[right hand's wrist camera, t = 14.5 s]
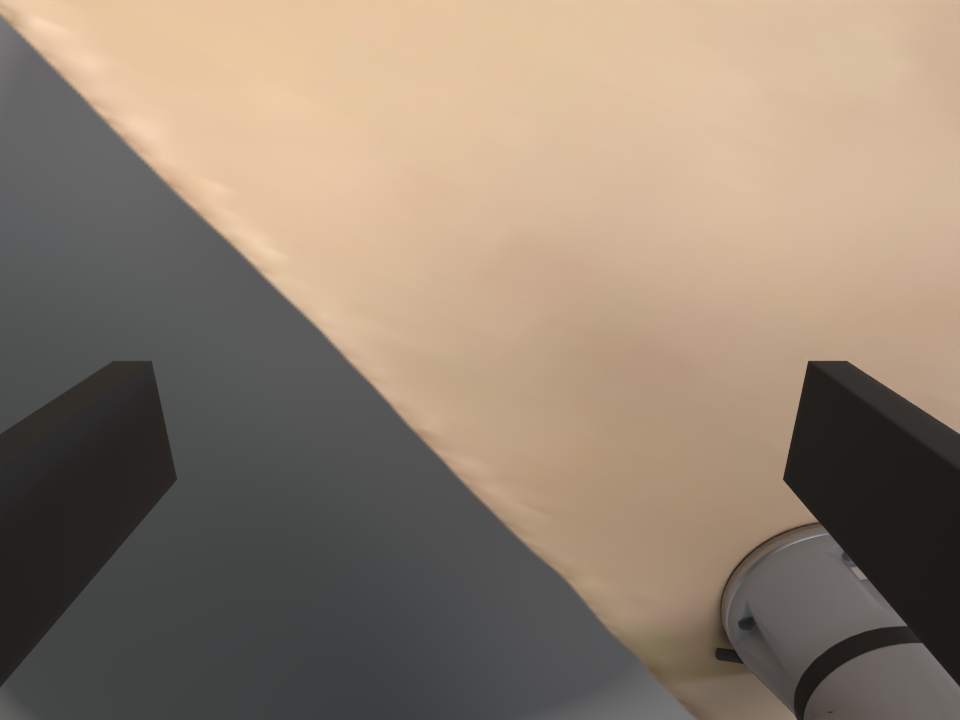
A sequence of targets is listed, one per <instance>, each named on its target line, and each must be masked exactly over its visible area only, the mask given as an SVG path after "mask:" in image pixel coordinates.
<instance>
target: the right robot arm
mask: <svg viewBox="0 0 960 720" xmlns="http://www.w3.org/2000/svg"><path fill="white" fill-rule="evenodd" d="M176 480H177V477H176V473H175V468H174V463H173V459H172V454H171V449H170V445H169V440H168V435H167V431H166V426H165V421H164V417H163V412H162V407H161V403H160V398H159V393H158V388H157V384H156V379H155V375H154V370H153V365H152V361H113V362H111V363H110V364H108V365H106V366H105V367H103V368H102V369H100V370H99V371H97V372H96V373H94V374H93V375H91V376H89V377H88V378H86V379H85V380H83V381H82V382H80V383H79V384H77V385H76V386H74V387H72V388H71V389H69V390H68V391H66V392H65V393H63V394H62V395H60V396H59V397H57V398H56V399H54V400H52V401H51V402H49V403H48V404H46V405H45V406H43V407H42V408H40V409H38V410H37V411H35V412H34V413H32V414H31V415H29V416H28V417H26V418H25V419H23V420H22V421H20V422H18V423H17V424H15V425H14V426H12V427H11V428H9V429H8V430H6V431H5V432H3V433H1V434H0V687H1V686H2V684H3V683H4V682H5V681H6V680H7V678H8V677H9V676H10V675H11V674H12V673H13V672H14V670H15V669H16V668H17V667H18V666H19V664H20V663H21V662H22V661H23V660H24V659H25V657H26V656H27V655H28V654H29V653H30V651H31V650H32V649H33V648H34V647H35V646H36V644H37V643H38V642H39V641H40V640H41V639H42V637H43V636H44V635H45V634H46V633H47V632H48V630H49V629H50V628H51V627H52V626H53V624H54V623H55V622H56V621H57V620H58V619H59V617H60V616H61V615H62V614H63V613H64V612H65V610H66V609H67V608H68V607H69V606H70V605H71V603H72V602H73V601H74V600H75V599H76V597H77V596H78V595H79V594H80V593H81V592H82V590H83V589H84V588H85V587H86V586H87V585H88V583H89V582H90V581H91V580H92V579H93V578H94V576H95V575H96V574H97V573H98V572H99V570H100V569H101V568H102V567H103V566H104V564H105V563H106V562H107V561H108V560H109V559H110V557H111V556H112V555H113V554H114V553H115V552H116V550H117V549H118V548H119V547H120V546H121V545H122V543H123V542H124V541H125V540H126V539H127V538H128V536H129V535H130V534H131V533H132V532H133V530H134V529H135V528H136V527H137V526H138V525H139V523H140V522H141V521H142V520H143V519H144V518H145V516H146V515H147V514H148V513H149V512H150V511H151V509H152V508H153V507H154V506H155V505H156V503H157V502H158V501H159V500H160V499H161V498H162V496H163V495H164V494H165V493H166V492H167V490H168V489H169V488H170V487H171V486H172V485H173V483H174V482H175V481H176ZM783 480H784V481H785V482H786V484H787V485H788V486H789V487H790V488H791V489H792V491H793V492H794V493H795V494H796V495H797V496H798V498H799V499H800V500H801V501H802V502H803V503H804V505H805V506H806V507H807V508H808V509H809V511H810V512H811V513H812V514H813V515H814V516H815V518H816V519H817V520H818V521H819V522H820V523H819V524H813V525H808V526H804V527H800V528H797V529H794V530H791V531H788V532H786V533H783V534H781V535H779V536H777V537H775V538H773V539H771V540H769V541H768V542H766V543H765V544H763V545H762V546H760V547H759V548H758V549H756V550H755V551H754V552H752V553H751V554H750V555H749V556H748V557H747V558H746V559H745V560H744V561H743V562H742V563H741V564H740V565H739V567H738V568H737V569H736V570H735V572H734V573H733V575H732V577H731V578H730V580H729V582H728V584H727V586H726V589H725V591H724V594H723V598H722V605H721V617H722V623H723V626H724V629H725V632H726V634H727V636H728V638H729V640H730V642H731V644H732V646H733V648H734V650H729V649H721V648H717V649H716V658H717V659H718V660H722V661H729V662H736V663H742V664H745V665H746V666H747V667H748V668H749V669H750V670H751V671H752V672H753V673H754V674H755V675H756V676H757V677H758V679H759V680H760V681H761V682H762V683H763V684H764V685H765V686H766V687H767V688H768V689H769V690H770V691H771V692H772V693H773V694H774V695H775V696H776V697H777V698H778V699H779V700H780V701H781V702H782V703H783V704H784V705H785V706H786V707H787V708H788V709H789V710H790V711H791V712H792V713H793V714H794V715H795V716H796V718H797V720H960V434H959V433H957V432H955V431H954V430H952V429H951V428H949V427H948V426H946V425H945V424H943V423H942V422H940V421H938V420H937V419H935V418H934V417H932V416H931V415H929V414H928V413H926V412H925V411H923V410H921V409H920V408H918V407H917V406H915V405H914V404H912V403H911V402H909V401H908V400H906V399H905V398H903V397H901V396H900V395H898V394H897V393H895V392H894V391H892V390H891V389H889V388H888V387H886V386H884V385H883V384H881V383H880V382H878V381H877V380H875V379H874V378H872V377H871V376H869V375H867V374H866V373H864V372H863V371H861V370H860V369H858V368H857V367H855V366H854V365H852V364H851V363H849V362H847V361H808V365H807V370H806V374H805V379H804V384H803V388H802V393H801V398H800V403H799V407H798V412H797V417H796V421H795V426H794V431H793V435H792V440H791V445H790V449H789V454H788V459H787V463H786V468H785V473H784V477H783Z"/></svg>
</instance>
